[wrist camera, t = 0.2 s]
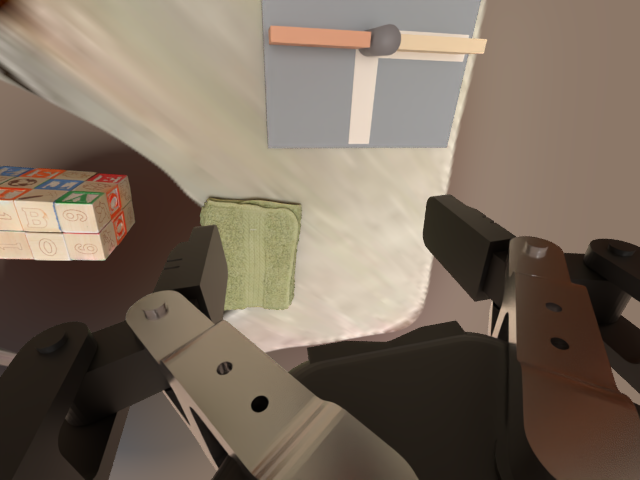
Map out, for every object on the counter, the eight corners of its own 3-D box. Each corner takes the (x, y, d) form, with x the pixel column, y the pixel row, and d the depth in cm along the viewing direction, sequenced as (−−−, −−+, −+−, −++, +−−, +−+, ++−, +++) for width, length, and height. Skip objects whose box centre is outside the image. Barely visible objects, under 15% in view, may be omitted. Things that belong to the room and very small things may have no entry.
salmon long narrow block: (356, 35, 33) (371, 31, 28) (355, 49, 33) (369, 47, 29) (268, 30, 31) (270, 25, 27) (269, 44, 32) (271, 42, 27)
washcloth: (302, 197, 42) (306, 207, 39) (292, 300, 50) (294, 314, 48) (199, 192, 39) (194, 202, 36) (206, 302, 47) (203, 317, 45)
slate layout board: (259, -54, 29) (260, -81, 23) (485, -30, 33) (532, -49, 27) (268, 147, 37) (270, 162, 32) (444, 146, 41) (474, 159, 36)
